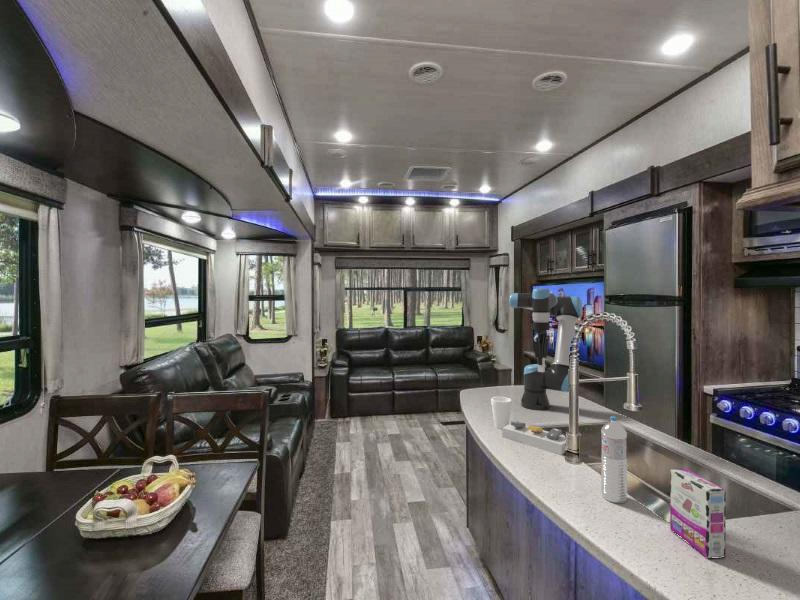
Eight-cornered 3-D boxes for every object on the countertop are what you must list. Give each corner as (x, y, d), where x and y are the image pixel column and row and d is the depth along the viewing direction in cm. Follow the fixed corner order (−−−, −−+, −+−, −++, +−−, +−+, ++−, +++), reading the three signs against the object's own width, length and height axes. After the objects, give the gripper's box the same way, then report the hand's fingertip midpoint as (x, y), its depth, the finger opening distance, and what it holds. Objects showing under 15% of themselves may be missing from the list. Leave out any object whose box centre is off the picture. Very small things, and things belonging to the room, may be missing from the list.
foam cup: (509, 423, 179) (509, 396, 179) (513, 430, 170) (513, 402, 170) (489, 423, 180) (489, 396, 180) (492, 429, 171) (492, 402, 171)
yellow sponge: (534, 429, 159) (535, 426, 160) (542, 431, 157) (543, 428, 157) (528, 429, 155) (528, 425, 156) (536, 431, 153) (536, 427, 153)
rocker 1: (517, 424, 165) (518, 421, 166) (525, 426, 163) (525, 423, 163) (510, 425, 161) (511, 421, 161) (518, 427, 159) (518, 423, 159)
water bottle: (626, 506, 108) (626, 422, 108) (600, 500, 112) (600, 418, 112) (627, 496, 114) (627, 415, 114) (601, 490, 118) (601, 412, 117)
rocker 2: (553, 430, 154) (552, 427, 154) (561, 433, 151) (561, 429, 151) (546, 437, 150) (546, 434, 150) (555, 440, 147) (555, 436, 147)
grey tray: (513, 430, 169) (513, 420, 169) (592, 453, 145) (592, 441, 144) (502, 436, 162) (502, 426, 162) (583, 461, 138) (582, 449, 138)
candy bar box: (727, 558, 87) (727, 489, 87) (707, 560, 86) (707, 490, 86) (686, 528, 98) (686, 467, 98) (669, 530, 98) (669, 468, 97)
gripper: (539, 320, 180) (540, 368, 180) (526, 321, 171) (527, 372, 171) (555, 321, 174) (555, 370, 175) (542, 322, 165) (542, 375, 166)
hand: (541, 371), depth 173 cm, fingers closed
